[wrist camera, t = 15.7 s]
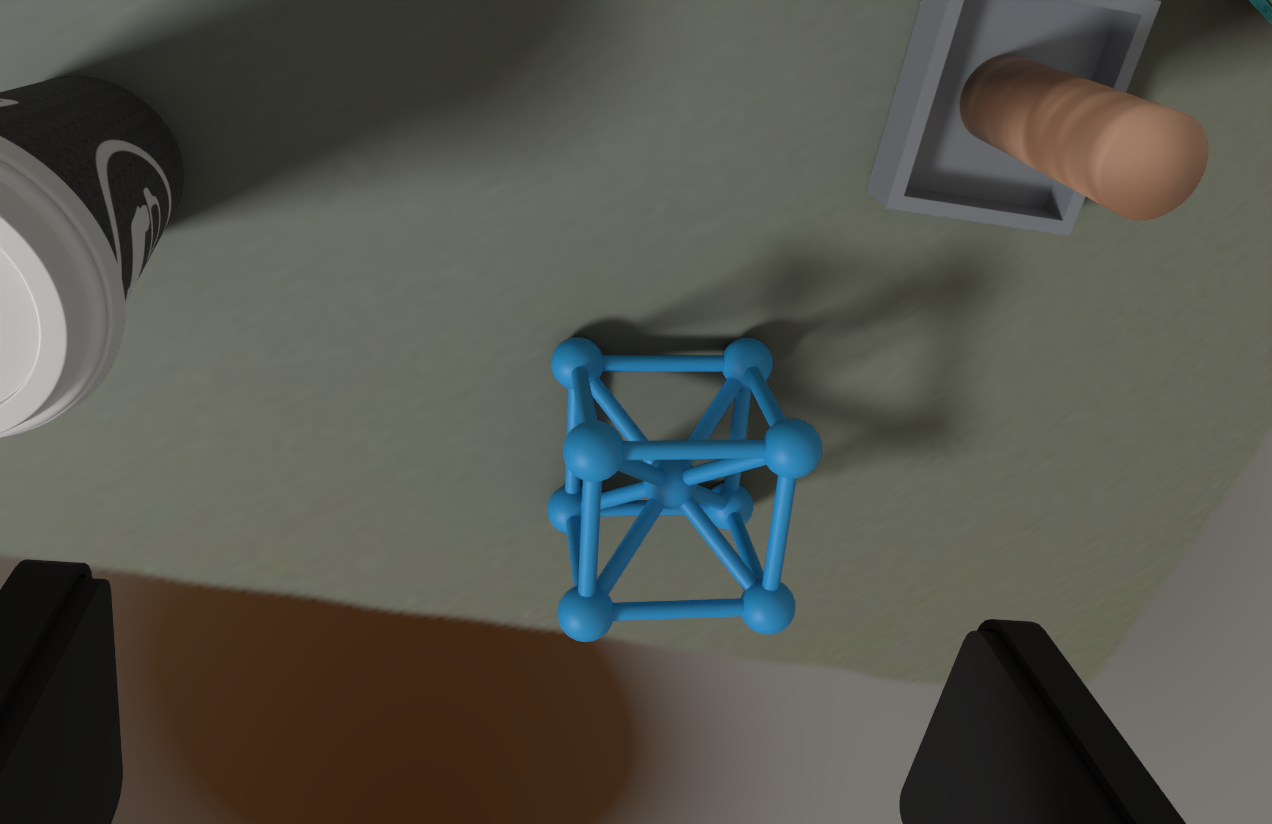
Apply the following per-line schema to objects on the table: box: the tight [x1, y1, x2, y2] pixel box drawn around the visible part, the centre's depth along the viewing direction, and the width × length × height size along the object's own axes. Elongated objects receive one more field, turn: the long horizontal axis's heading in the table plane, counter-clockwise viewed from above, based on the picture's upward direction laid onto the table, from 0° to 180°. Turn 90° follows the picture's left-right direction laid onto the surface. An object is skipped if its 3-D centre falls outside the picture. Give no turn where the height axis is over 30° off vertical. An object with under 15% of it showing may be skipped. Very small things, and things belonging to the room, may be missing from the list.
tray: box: [866, 0, 1162, 236], centre depth 42 cm, size 10×8×2 cm
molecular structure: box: [547, 337, 822, 642], centre depth 44 cm, size 10×10×10 cm
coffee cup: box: [0, 77, 183, 438], centre depth 33 cm, size 10×10×15 cm
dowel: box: [960, 54, 1208, 220], centre depth 37 cm, size 4×4×11 cm
